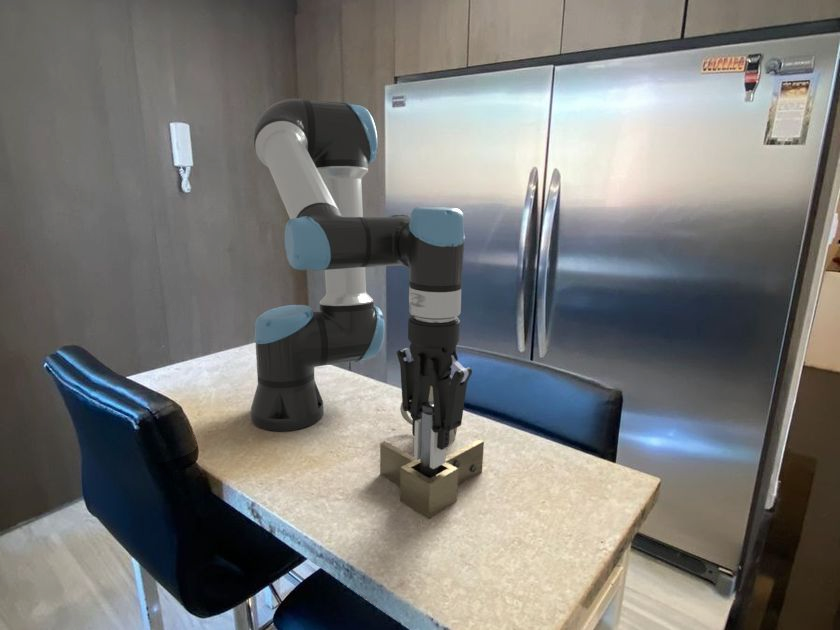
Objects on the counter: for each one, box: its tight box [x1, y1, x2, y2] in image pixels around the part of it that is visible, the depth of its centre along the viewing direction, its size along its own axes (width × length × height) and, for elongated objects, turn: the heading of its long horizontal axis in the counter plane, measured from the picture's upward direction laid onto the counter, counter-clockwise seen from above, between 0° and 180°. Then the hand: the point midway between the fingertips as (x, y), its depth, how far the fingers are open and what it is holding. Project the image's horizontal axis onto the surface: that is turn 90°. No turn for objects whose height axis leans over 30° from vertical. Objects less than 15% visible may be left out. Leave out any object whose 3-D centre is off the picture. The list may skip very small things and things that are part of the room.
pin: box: [420, 401, 438, 478], centre depth 81 cm, size 3×3×15 cm
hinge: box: [379, 439, 485, 520], centre depth 88 cm, size 14×16×6 cm
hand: (429, 460), depth 81 cm, fingers closed on pin, 3 cm apart
